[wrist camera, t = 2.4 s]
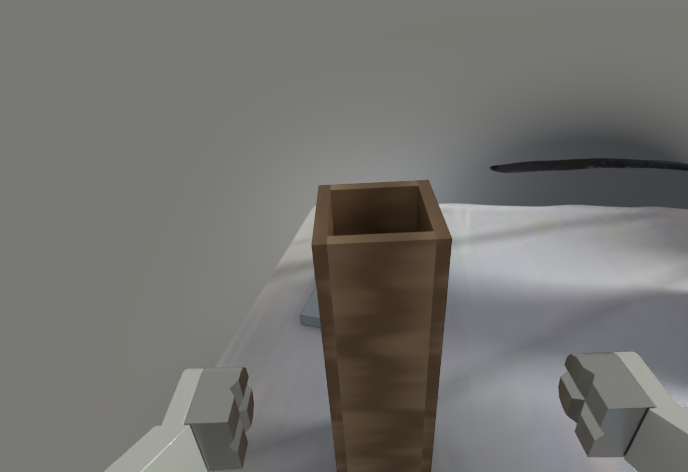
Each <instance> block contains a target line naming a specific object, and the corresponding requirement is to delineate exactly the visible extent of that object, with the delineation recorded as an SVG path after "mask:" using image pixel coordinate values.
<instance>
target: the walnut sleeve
mask: <svg viewBox="0 0 688 472" xmlns="http://www.w3.org/2000/svg"><path fill="white" fill-rule="evenodd" d="M451 245H452V237H451V235H450V232H449V230H448V227H447V225H446V222H445V220H444V217H443V215H442V212H441V210H440V207H439V205H438V202H437V200H436V197H435V195H434V192H433V190H432V187H431V185H430V182H429V180H419V181H399V182H379V183H360V184H359V183H358V184H339V185H320V186H319V188H318V196H317V204H316V212H315V221H314V229H313V237H312V253H313V262H314V271H315V280H316V289H317V297H318V306H319V315H320V324H321V333H322V342H323V350H324V359H325V368H326V377H327V386H328V395H329V404H330V412H331V421H332V430H333V439H334V448H335V457H336V466H337V472H431V464H432V453H433V442H434V431H435V420H436V409H437V399H438V388H439V377H440V366H441V355H442V344H443V333H444V322H445V311H446V300H447V289H448V278H449V267H450V256H451Z"/></svg>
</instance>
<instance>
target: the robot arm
mask: <svg viewBox="0 0 688 472" xmlns="http://www.w3.org/2000/svg"><path fill="white" fill-rule="evenodd" d="M565 366H566V368H567V370H568V372H566V373H565V374H564V375H563V376H561V378H560V382H559V386H558V387H559V398H560V401H561V404H562V407H563V409H564V411H565V413H566V415H567V416H568V417H570V418H571V419H572V420H574V421H575V422H576V423H577V425H576V429H575V433H576V435H577V437H578V439H579V441H580V443H581V445H582V447H583V449H584V451H585V453H586V455H587V457H625V458H624V459H625V460H626V461H627V462H628V463H629V464H631V465H632V466H633V467H634V468H635V469H636V470H637V471H638V472H688V408H687V407H679V406H678V405H677V403H676V402H675V401H674V399H673V398H672V397H671V396H670V394H669V393H668V392H667V390H666V389H665V388H664V387H663V385H662V384H661V383H660V382H659V380H658V379H657V378H656V376H655V375H654V374H653V373H652V371H651V370H650V369H649V367H648V366H647V365H646V364H645V362H644V361H643V360H642V358H641V357H640V356H639V355H638V354H637V353H635V352H634V351H630V352H612V353H610V352H602V353H583V354H570V355H569V356H568V357H567V359H566V362H565ZM247 381H248V374H247V370H246V368H243V367H242V368H193V369H192V368H191V369H186V370H185V371H184V372H183V373H182V374H181V377H180V379H179V382H178V384H177V387H176V389H175V391H174V394H173V396H172V399H171V401H170V404H169V407H168V409H167V412H166V414H165V416H164V419H163V421H162V424H161V426H154V427H153V428H152V429H151V430H150V431H149V432H148V433H146V434H145V435H144V436H143V437H142V438H141V439H140V440H139V441H137V442H136V443H135V444H134V445H133V446H132V447H131V448H130V449H128V450H127V451H126V452H125V453H124V454H123V455H122V456H121V457H120V458H119V459H117V460H116V461H115V462H114V463H113V464H112V465H111V466H110V467H108V468H107V469H106V470H105V471H104V472H208V471H209V470H225V469H242V468H243V463H244V458H245V453H246V449H247V444H248V442H247V438H246V435H245V432H246V431H247V430H248V429H249V428H250V427H251V424H252V418H253V408H254V401H253V393H252V389H251V388H250V387H249V386H247Z"/></svg>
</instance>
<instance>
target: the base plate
mask: <svg viewBox="0 0 688 472" xmlns="http://www.w3.org/2000/svg"><path fill="white" fill-rule="evenodd" d="M300 319H301V324H304V325H310V326H315V327H320V328H321V324H320V315H319V306H318V297H317V289H316V288H315V290H314V291H313V293H312V295H311V296H310V298H309V300H308V301H307V303H306V305H305V306H304V308H303V310H302V311H301V313H300Z"/></svg>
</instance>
